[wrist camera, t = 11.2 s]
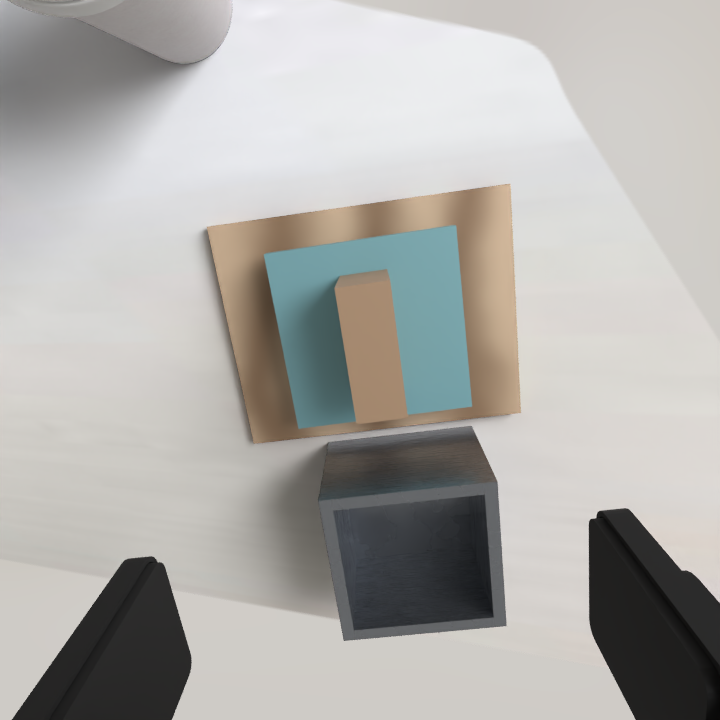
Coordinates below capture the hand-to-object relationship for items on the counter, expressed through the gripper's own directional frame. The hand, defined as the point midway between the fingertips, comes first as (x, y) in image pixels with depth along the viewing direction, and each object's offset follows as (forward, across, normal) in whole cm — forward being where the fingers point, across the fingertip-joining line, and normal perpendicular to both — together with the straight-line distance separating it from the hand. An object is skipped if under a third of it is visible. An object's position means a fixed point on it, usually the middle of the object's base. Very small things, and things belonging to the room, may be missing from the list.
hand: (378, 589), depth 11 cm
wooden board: (+26, 0, 0) cm, 26 cm away
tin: (+26, -1, +14) cm, 30 cm away
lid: (+25, 0, 0) cm, 25 cm away
